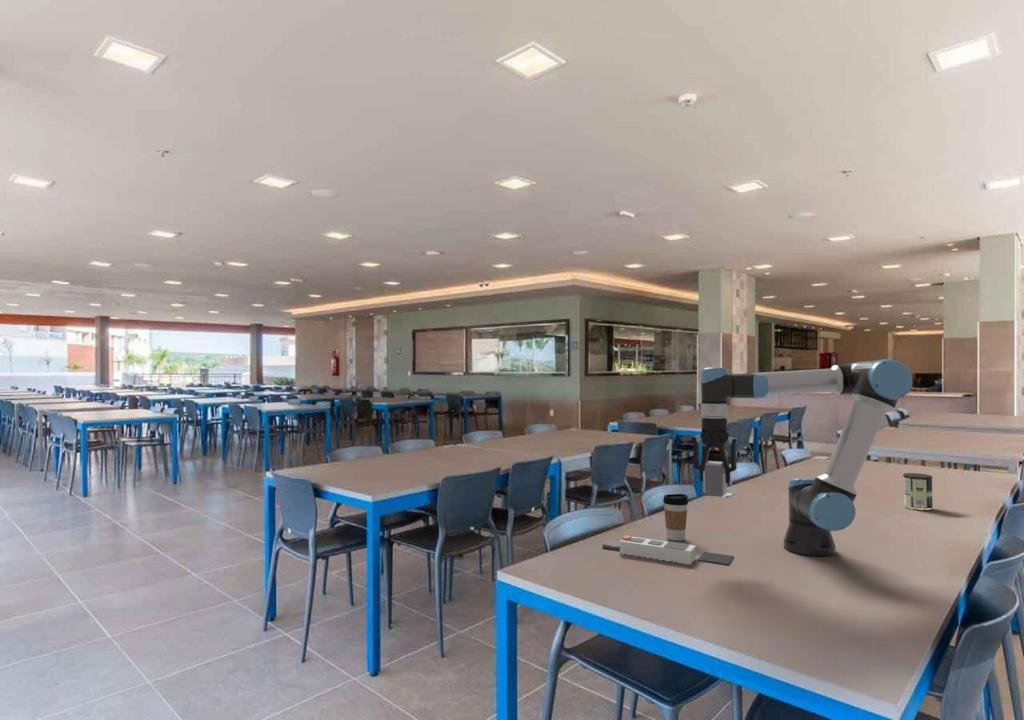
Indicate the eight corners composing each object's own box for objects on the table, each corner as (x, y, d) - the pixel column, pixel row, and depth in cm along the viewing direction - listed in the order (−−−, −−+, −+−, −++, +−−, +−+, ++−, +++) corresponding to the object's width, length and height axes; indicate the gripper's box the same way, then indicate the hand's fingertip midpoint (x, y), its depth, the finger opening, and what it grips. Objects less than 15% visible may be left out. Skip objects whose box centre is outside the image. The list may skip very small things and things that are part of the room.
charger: (725, 494, 183) (724, 461, 183) (722, 497, 179) (721, 464, 179) (708, 492, 186) (708, 460, 186) (705, 495, 181) (704, 462, 182)
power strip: (695, 558, 182) (695, 542, 182) (690, 564, 176) (690, 548, 176) (606, 545, 197) (606, 530, 197) (599, 550, 190) (599, 535, 191)
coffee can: (921, 505, 256) (921, 472, 256) (938, 511, 245) (938, 477, 246) (898, 505, 256) (897, 472, 256) (913, 511, 245) (913, 477, 246)
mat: (733, 557, 183) (733, 556, 183) (728, 565, 176) (728, 564, 176) (703, 553, 188) (703, 551, 188) (697, 560, 180) (697, 559, 180)
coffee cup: (689, 542, 200) (689, 498, 200) (663, 541, 201) (663, 497, 202) (687, 535, 208) (687, 493, 208) (662, 534, 210) (662, 492, 210)
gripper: (681, 417, 184) (682, 492, 183) (743, 419, 175) (744, 497, 175) (687, 415, 191) (688, 487, 190) (747, 417, 182) (748, 493, 181)
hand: (715, 492), depth 182 cm, fingers closed on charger, 5 cm apart
